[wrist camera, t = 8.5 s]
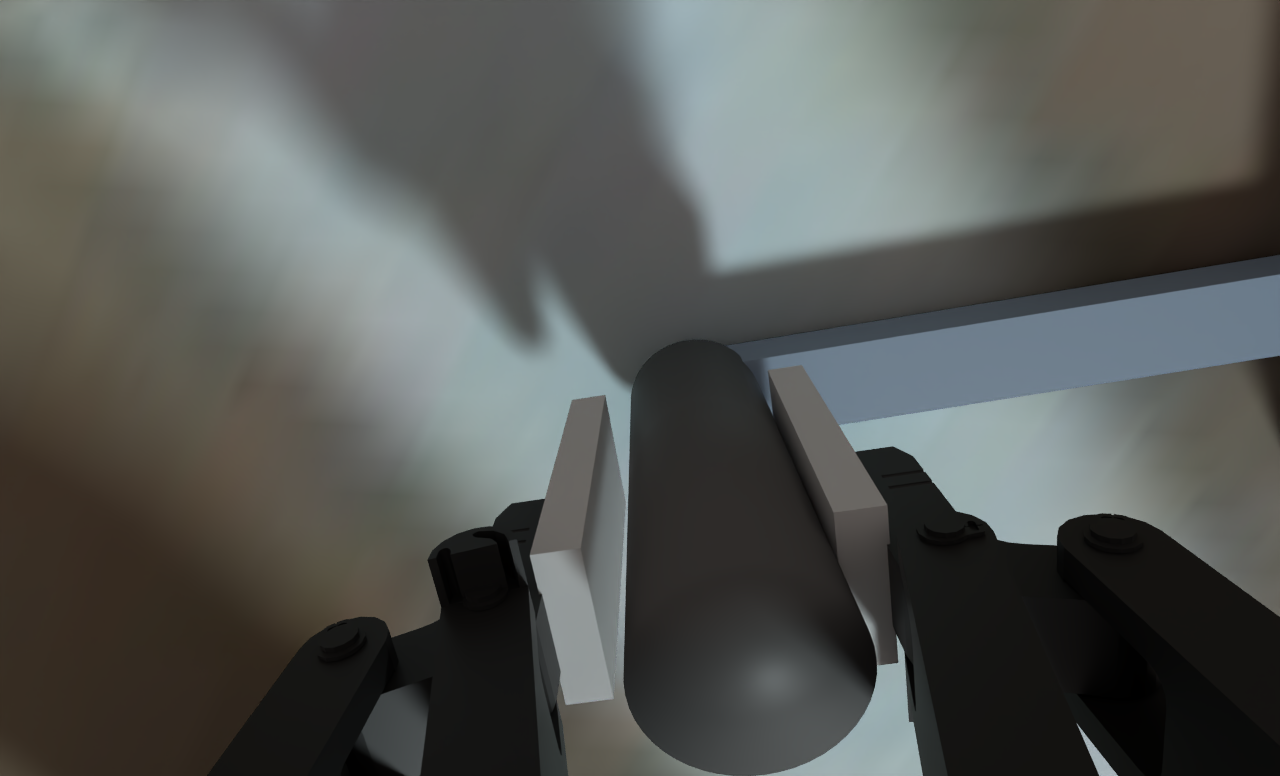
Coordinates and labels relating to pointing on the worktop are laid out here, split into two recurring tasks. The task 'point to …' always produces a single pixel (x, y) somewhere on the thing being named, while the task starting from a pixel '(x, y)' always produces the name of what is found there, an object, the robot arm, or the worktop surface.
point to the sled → (785, 517)
